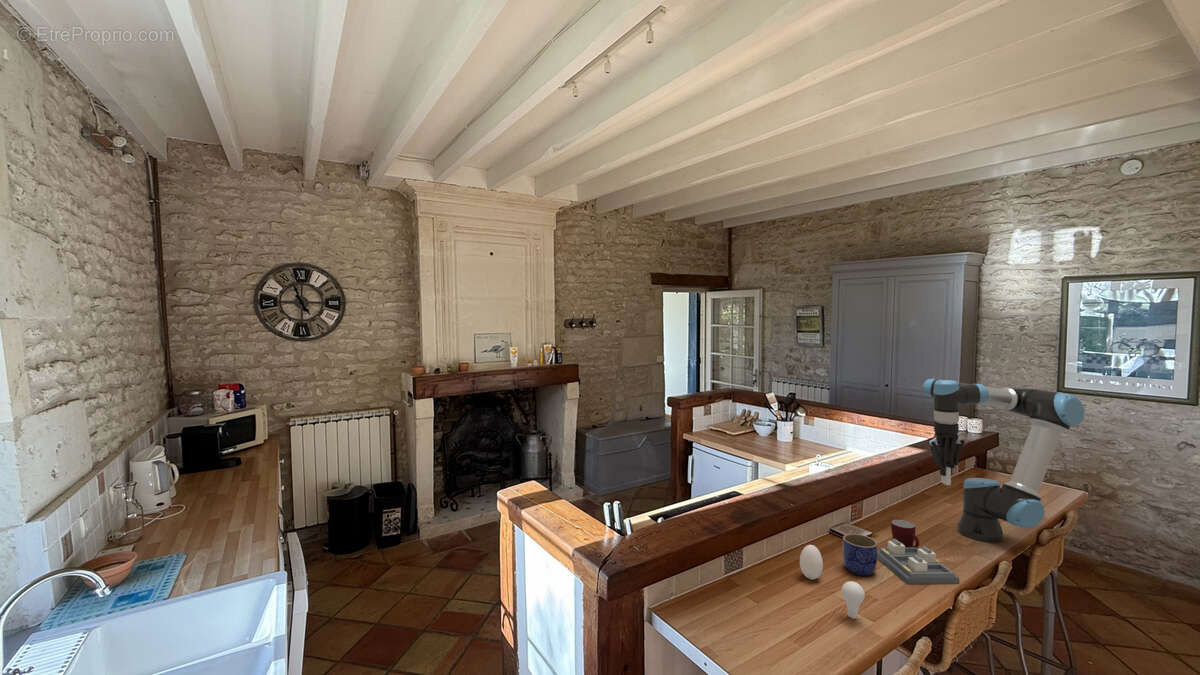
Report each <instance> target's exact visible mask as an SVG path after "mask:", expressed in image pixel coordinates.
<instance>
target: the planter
mask: <svg viewBox="0 0 1200 675" xmlns="http://www.w3.org/2000/svg"><path fill="white" fill-rule="evenodd" d="M877 552H878V542H877V541H876V540H875V539H873V538H872V537H870V536H867V535H864V534H860V533H846V534H844V535H843V537H842V561H843V563H844V566H845V567H846V569H847V570H848V571H849V572H851V573H853V574H856V575H858V576H870V575H872V574H873V573H874V572H875V571H876V568H877V563H878V559H877Z"/></svg>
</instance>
